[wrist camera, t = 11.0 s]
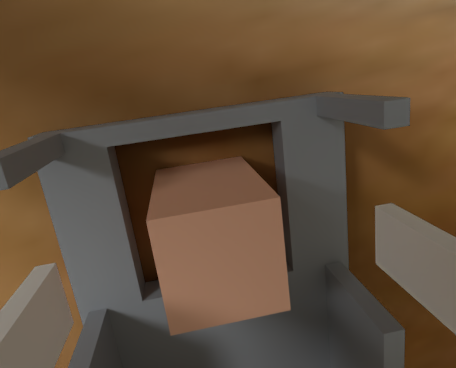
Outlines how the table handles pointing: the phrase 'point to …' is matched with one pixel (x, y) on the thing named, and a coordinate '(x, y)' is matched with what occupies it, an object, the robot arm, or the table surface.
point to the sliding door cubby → (292, 226)
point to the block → (217, 244)
